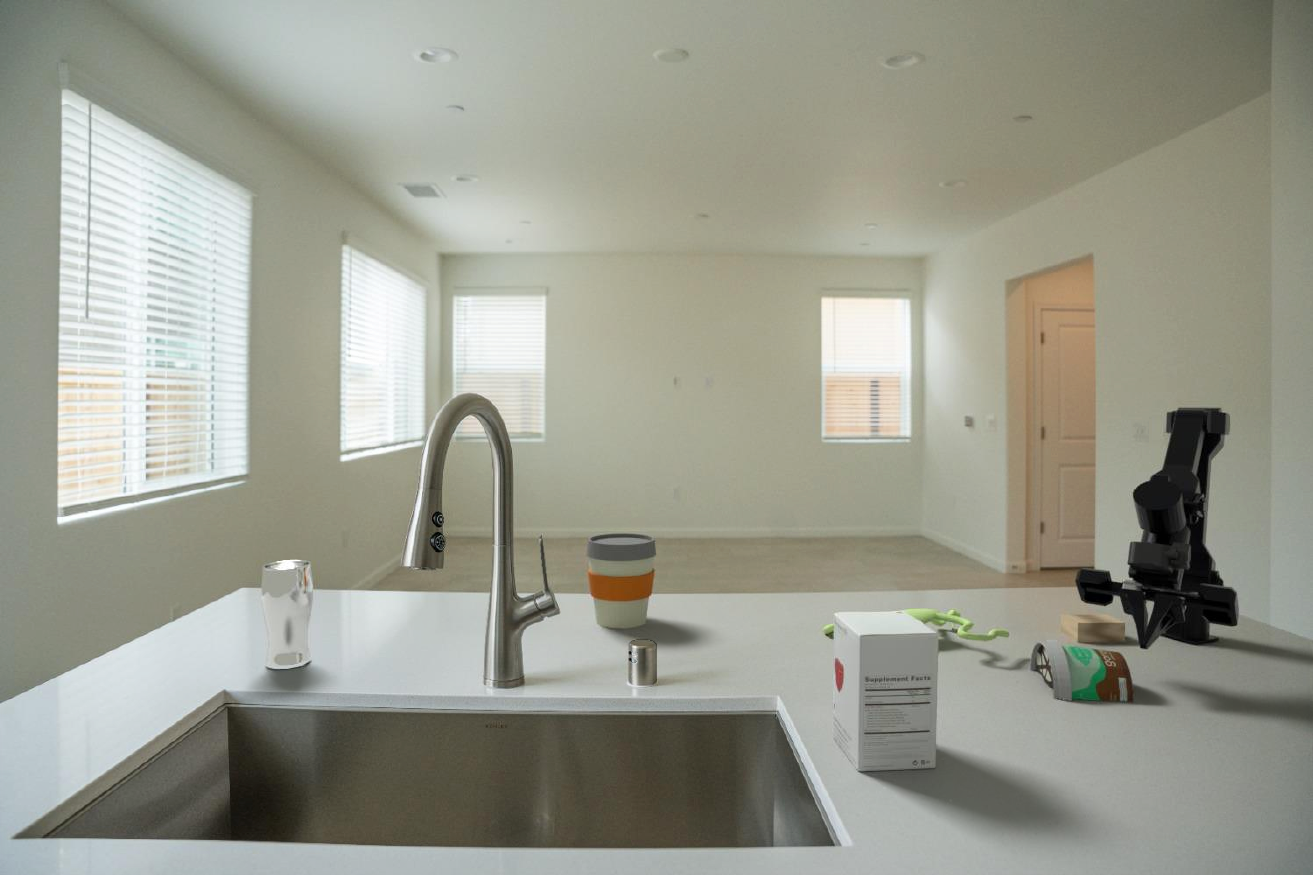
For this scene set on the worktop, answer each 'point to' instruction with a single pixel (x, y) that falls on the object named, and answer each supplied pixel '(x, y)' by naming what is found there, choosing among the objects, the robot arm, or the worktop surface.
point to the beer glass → (287, 610)
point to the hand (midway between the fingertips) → (1143, 647)
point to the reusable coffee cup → (621, 578)
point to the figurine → (941, 619)
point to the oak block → (1093, 628)
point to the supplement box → (885, 690)
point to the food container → (1082, 672)
